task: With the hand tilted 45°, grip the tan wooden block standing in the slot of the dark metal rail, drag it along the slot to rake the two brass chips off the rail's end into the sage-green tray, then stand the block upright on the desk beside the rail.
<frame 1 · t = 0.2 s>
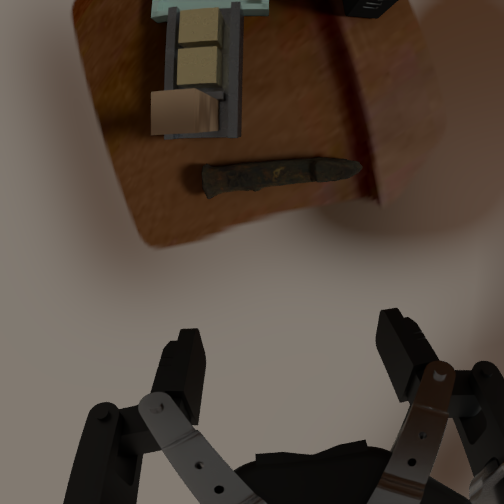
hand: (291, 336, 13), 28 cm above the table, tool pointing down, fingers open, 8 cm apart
hand tool: (281, 165, 38), on the table
slot rail: (209, 74, 33), on the table
tan wooden block: (203, 115, 32), point 3 cm above the table, touching slot rail
chip a: (204, 71, 30), point 3 cm above the table, touching slot rail
chip b: (205, 34, 29), point 3 cm above the table, touching slot rail
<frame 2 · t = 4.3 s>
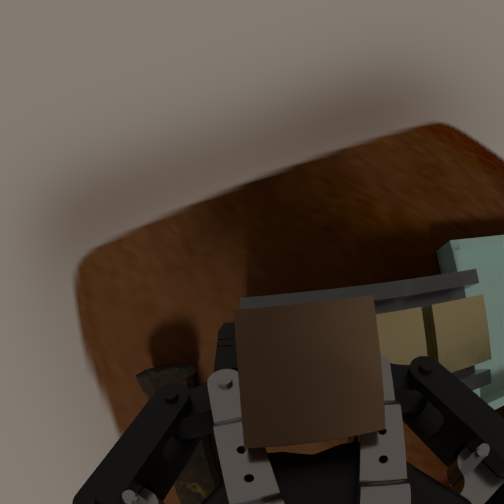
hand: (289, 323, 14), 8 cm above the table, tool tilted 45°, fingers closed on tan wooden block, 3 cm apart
hand tool: (212, 477, 19), on the table
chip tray: (496, 321, 20), on the table
slot rail: (361, 352, 21), on the table
tan wooden block: (288, 363, 18), point 3 cm above the table, touching gripper, slot rail
chip a: (370, 352, 18), point 3 cm above the table, touching slot rail
chip b: (433, 339, 18), point 3 cm above the table, touching slot rail
electronic device: (495, 494, 15), on the table
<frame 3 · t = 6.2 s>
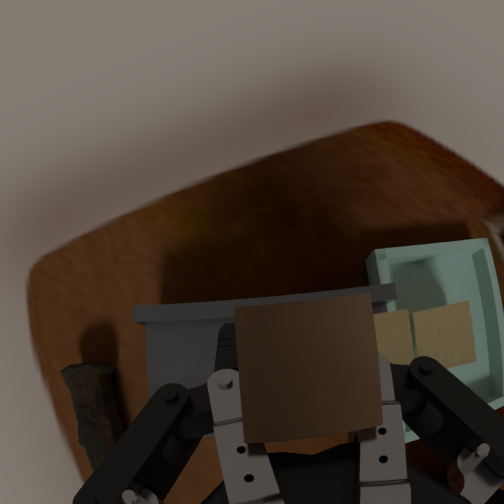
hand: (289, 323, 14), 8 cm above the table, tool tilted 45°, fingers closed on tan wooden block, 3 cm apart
hand tool: (134, 470, 19), on the table
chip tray: (439, 337, 21), on the table
slot rail: (270, 364, 21), on the table
tan wooden block: (287, 362, 18), point 3 cm above the table, touching gripper, slot rail
chip a: (359, 353, 18), point 3 cm above the table, touching slot rail
chip b: (413, 343, 19), point 2 cm above the table, tilted 71°, touching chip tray
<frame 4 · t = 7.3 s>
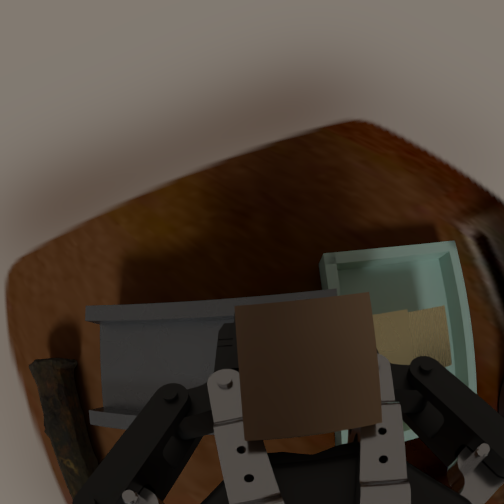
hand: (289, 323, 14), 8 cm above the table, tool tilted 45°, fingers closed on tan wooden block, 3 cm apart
hand tool: (97, 461, 20), on the table
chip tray: (398, 345, 21), on the table
slot rail: (218, 366, 22), on the table
tan wooden block: (287, 361, 19), point 3 cm above the table, touching chip a, gripper
chip a: (358, 353, 18), point 3 cm above the table, touching chip b, tan wooden block, slot rail
chip b: (385, 348, 19), point 3 cm above the table, tilted 90°, touching chip a
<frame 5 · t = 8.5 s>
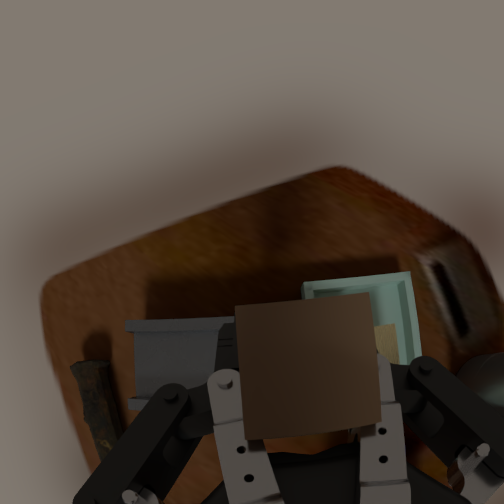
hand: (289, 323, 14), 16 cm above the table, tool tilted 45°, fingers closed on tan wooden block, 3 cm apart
hand tool: (125, 442, 27), on the table
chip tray: (361, 351, 29), on the table
slot rail: (224, 364, 29), on the table
tan wooden block: (287, 361, 19), point 11 cm above the table, touching gripper
chip b: (349, 353, 26), point 3 cm above the table, tilted 90°, touching chip a, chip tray
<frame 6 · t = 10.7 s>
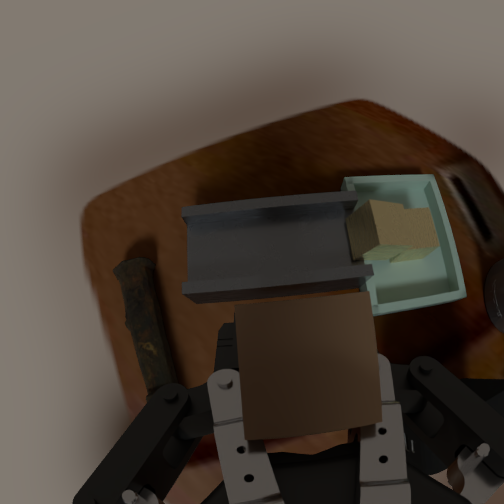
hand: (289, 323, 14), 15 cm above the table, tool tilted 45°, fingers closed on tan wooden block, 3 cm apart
hand tool: (167, 354, 29), on the table
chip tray: (400, 244, 31), on the table
slot rail: (274, 257, 31), on the table
tan wooden block: (287, 361, 19), point 10 cm above the table, touching gripper
chip a: (366, 239, 28), point 3 cm above the table, tilted 20°, touching chip b, slot rail
chip b: (392, 237, 28), point 3 cm above the table, tilted 90°, touching chip a, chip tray
electronic device: (425, 411, 25), on the table
when the fingers open (7 cm above the table, at t = 12.4 s): tan wooden block drops 1 cm, on the table.
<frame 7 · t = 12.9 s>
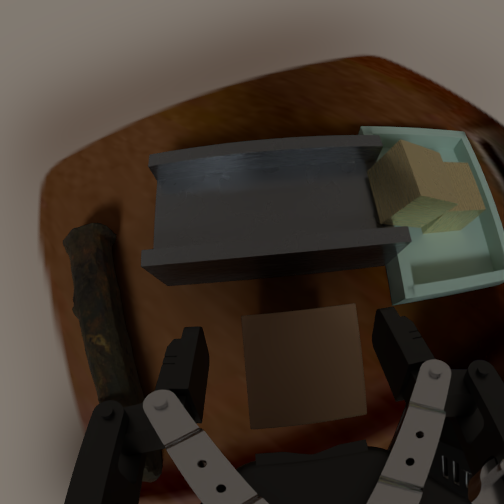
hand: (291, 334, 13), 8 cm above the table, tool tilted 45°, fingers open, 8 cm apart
hand tool: (129, 352, 21), on the table
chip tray: (432, 212, 23), on the table
slot rail: (272, 224, 23), on the table
tan wooden block: (287, 362, 20), on the table
chip a: (394, 200, 20), point 3 cm above the table, tilted 20°, touching chip b, slot rail
chip b: (426, 198, 20), point 3 cm above the table, tilted 90°, touching chip a, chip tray
electronic device: (466, 426, 17), on the table
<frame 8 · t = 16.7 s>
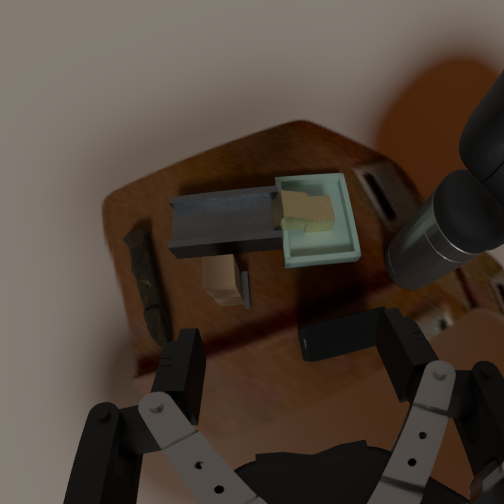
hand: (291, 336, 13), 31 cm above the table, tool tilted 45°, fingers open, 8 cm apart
hand tool: (157, 291, 46), on the table
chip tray: (315, 221, 48), on the table
slot rail: (227, 229, 48), on the table
tan wooden block: (232, 293, 45), on the table
chip a: (285, 217, 46), point 3 cm above the table, tilted 20°, touching chip b, slot rail
chip b: (304, 215, 46), point 3 cm above the table, tilted 90°, touching chip a, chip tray
electronic device: (334, 338, 42), on the table
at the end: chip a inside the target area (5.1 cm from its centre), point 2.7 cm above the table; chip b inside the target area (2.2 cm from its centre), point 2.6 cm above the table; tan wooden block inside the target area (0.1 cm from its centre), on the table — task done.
